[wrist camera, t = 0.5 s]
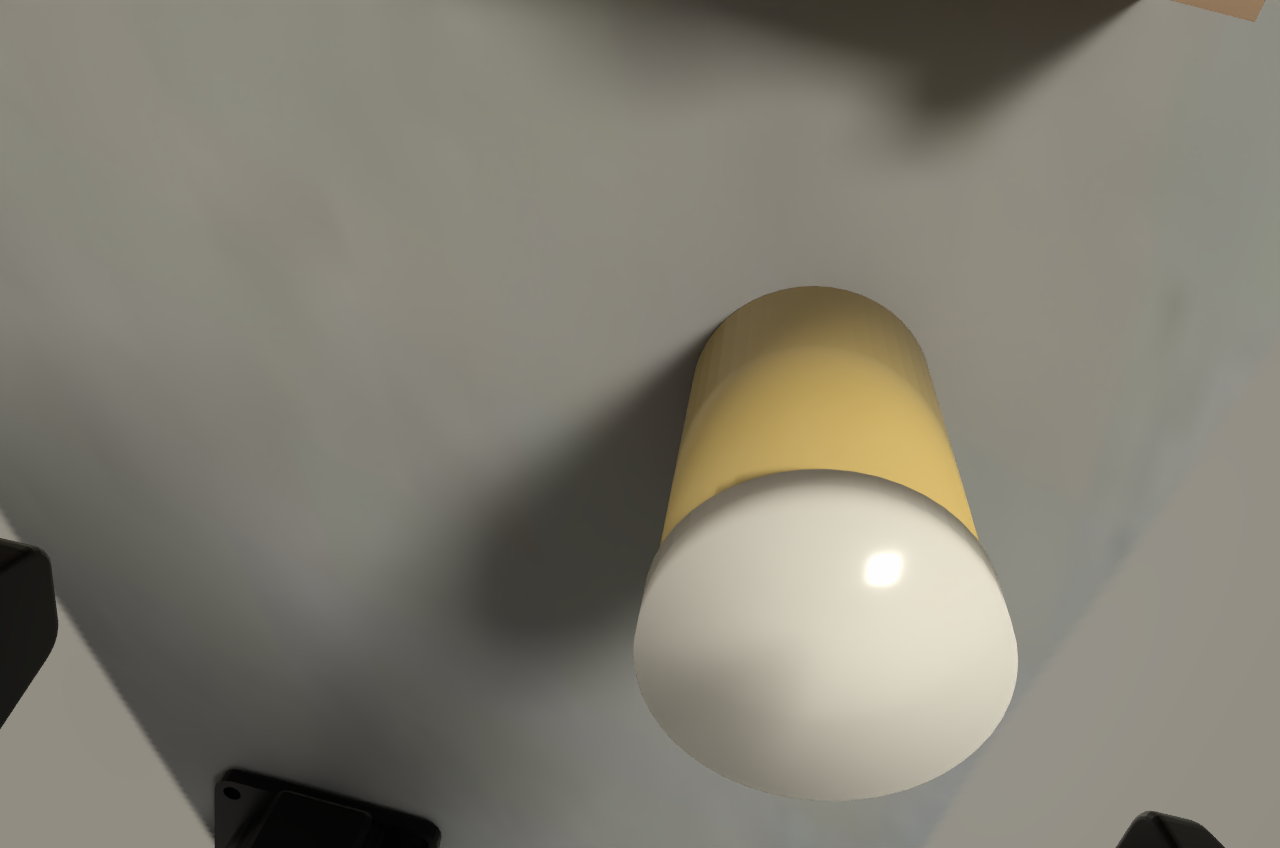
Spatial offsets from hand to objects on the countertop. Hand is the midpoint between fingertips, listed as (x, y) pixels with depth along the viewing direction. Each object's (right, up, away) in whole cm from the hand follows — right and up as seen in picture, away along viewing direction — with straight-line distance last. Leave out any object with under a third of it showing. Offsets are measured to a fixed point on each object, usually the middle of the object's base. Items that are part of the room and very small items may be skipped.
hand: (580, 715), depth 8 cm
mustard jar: (+4, +3, +12) cm, 13 cm away
